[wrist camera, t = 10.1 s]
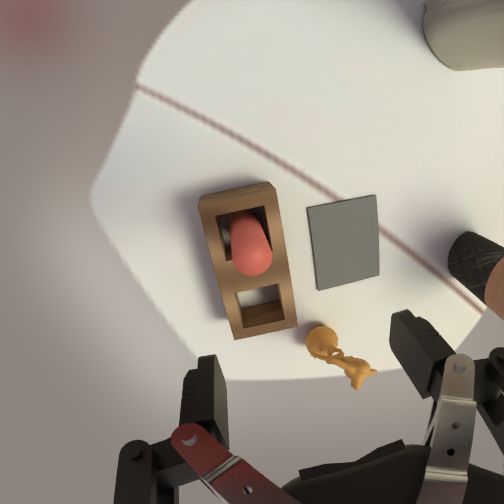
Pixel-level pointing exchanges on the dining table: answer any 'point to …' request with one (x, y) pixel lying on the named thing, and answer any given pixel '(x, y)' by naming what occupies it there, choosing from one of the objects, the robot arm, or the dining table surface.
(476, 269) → the travel mug
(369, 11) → the dining table surface
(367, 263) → the mat
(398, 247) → the dining table surface
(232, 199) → the hole block
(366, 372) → the figurine
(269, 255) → the peg
